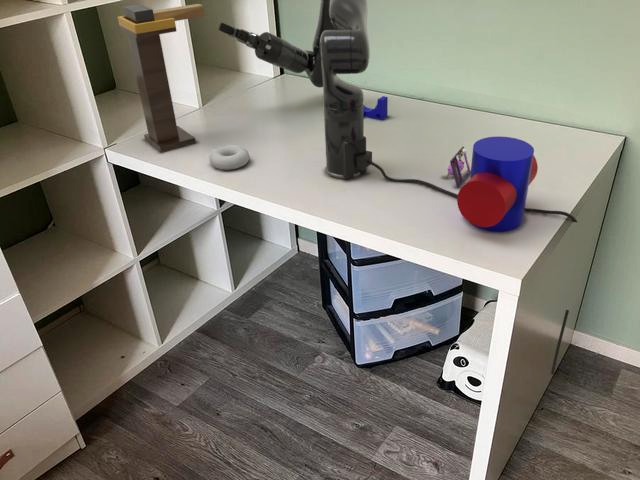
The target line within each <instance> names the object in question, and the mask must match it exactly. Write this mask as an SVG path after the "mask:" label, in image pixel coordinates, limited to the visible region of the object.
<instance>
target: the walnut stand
mask: <svg viewBox="0 0 640 480" xmlns="http://www.w3.org/2000/svg"><path fill="white" fill-rule="evenodd" d="M118 26H119V29H120V31H122V32H124V33H126V39H127V42H128V46H129V51H130V56H131V60H132V65H133V69H134V74H135V80H136V84H137V89H138V92H139V97H140V101H141V106H142V110H143V115H144V120H145V125H146V129H147V133H145V134H143V137H144V141H146V142H147V143H148V144H150V145H151V146H153V147H154V148H155V149H156V150H157V151H159V152H160V153H164V152H168V151H171V150H175V149H178V148H181V147H186V146H189V145H193V144H197V141H196V137H195V136H193V135H192V134H190V133H189V132H188V131H186V130H185V129H183V128H182V127H180V126H179V125H177V119H176V115H175V109H174V104H173V98H172V94H171V87H170V83H169V78H168V72H167V68H166V67H167V66H166V62H165V61H166V60H165V57H164V51H163V46H162V40H161V35H163V34H170V33H176V32H178V31H177V26H176V27H174V28H168V29H162V30H156V31H151V32H145V33H139V34H135V33H133V32H132V31H130V30H128V29H126V28H124V27H122V26H120V25H119V24H118Z"/></svg>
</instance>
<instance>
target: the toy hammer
mask: <svg viewBox="0 0 640 480" xmlns="http://www.w3.org/2000/svg"><path fill="white" fill-rule="evenodd" d="M122 9H123V10H122V11H123V15H124V16H125V19H127V20H129V21H131V22H133V23H135V24H140V23H146V22H152V21H158V20H164V19H170V18H174V19H175V22H177V21H184V20H190V19H196V18H201V17H202V18H203V17H205V11H204V5H203V4H200V3H194V4H188V5H182V6H181V5H180V6H175V7H169V8H162V9H156V10H154V9H153V8H150V7H149V6H146V5H144V4H141V3H139V4H132V5H125V6H122Z"/></svg>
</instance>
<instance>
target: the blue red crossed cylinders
mask: <svg viewBox="0 0 640 480" xmlns="http://www.w3.org/2000/svg"><path fill="white" fill-rule="evenodd" d="M534 152H535V148H534V146H533V145H532V144H531V143H529V142H527V141H525V140H523V139H519V138H516V137H512V136H499V135H497V136H488V137H483V138H480V139H478V140H476V141H475V142H474V143H473V145H472V154H471V164H470V165H471V166H470V174H469V175H470V176H469V179H468V181H466V183H464V185H462V187H461V188H459V191H458V193H457V194H458V196H457V198H456V203H457V208H458V211H459V212H460V214H461V215H462V217H463V219H465V221H467V222H469V224H470V225H472V226H473V227H475V228H477V229H480V230H483V231H486V232H491V233H506V232H511V231H515V230H517V229H518V228H520V227H521V226H522V225H523V223H524V217H525V212H526V211H525V208H526V205H527V204H526V203H527V199H528V192H529V186H530V185H531V183H533V181H534V180H535V179H536V177H537V175H538V168H539V167H538V161H537V159H536V157H535V155H534Z"/></svg>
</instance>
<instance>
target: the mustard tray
mask: <svg viewBox="0 0 640 480" xmlns="http://www.w3.org/2000/svg"><path fill="white" fill-rule="evenodd" d="M117 21H118V26H119V25H120V26H122V27H124V28H126V29H128V30H130V31H132V32H133V33H135V34H139V33H145V32H151V31H156V30H162V29H168V28H174V27H176V28H177V26H176V21H175V19H174V18H170V19H164V20H158V21H152V22H146V23H140V24H135V23H133V22H131V21H129V20H127V19H125V15H120V16H117ZM120 26H119V27H120Z"/></svg>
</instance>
